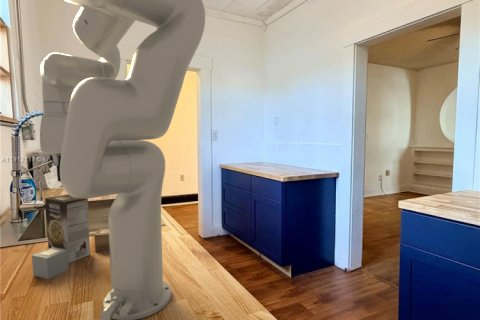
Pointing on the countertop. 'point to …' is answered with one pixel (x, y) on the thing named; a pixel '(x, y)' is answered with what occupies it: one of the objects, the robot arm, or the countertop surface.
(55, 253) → the slate block
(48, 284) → the countertop surface
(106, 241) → the walnut block
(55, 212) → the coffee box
